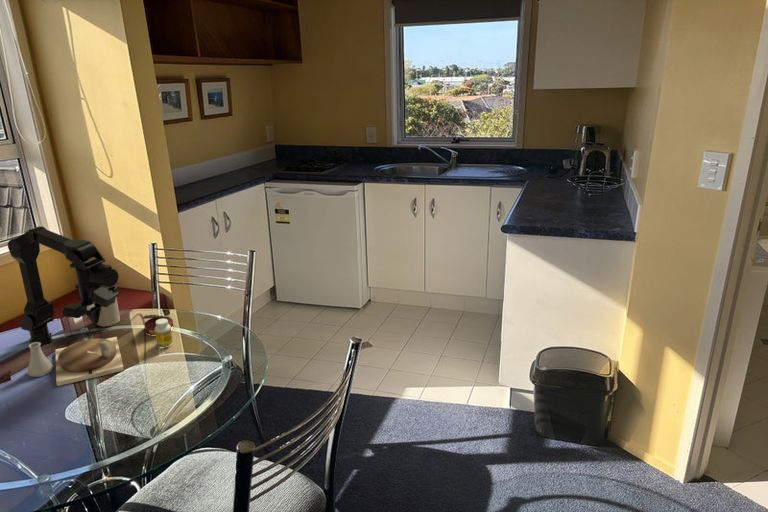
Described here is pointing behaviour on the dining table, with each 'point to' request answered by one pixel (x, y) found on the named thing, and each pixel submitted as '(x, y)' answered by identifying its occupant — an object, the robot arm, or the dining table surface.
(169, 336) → the supplement bottle
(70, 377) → the stand
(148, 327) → the dark red handled pot
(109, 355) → the knobbed disc on base
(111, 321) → the travel mug
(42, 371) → the flask
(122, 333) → the dining table surface
